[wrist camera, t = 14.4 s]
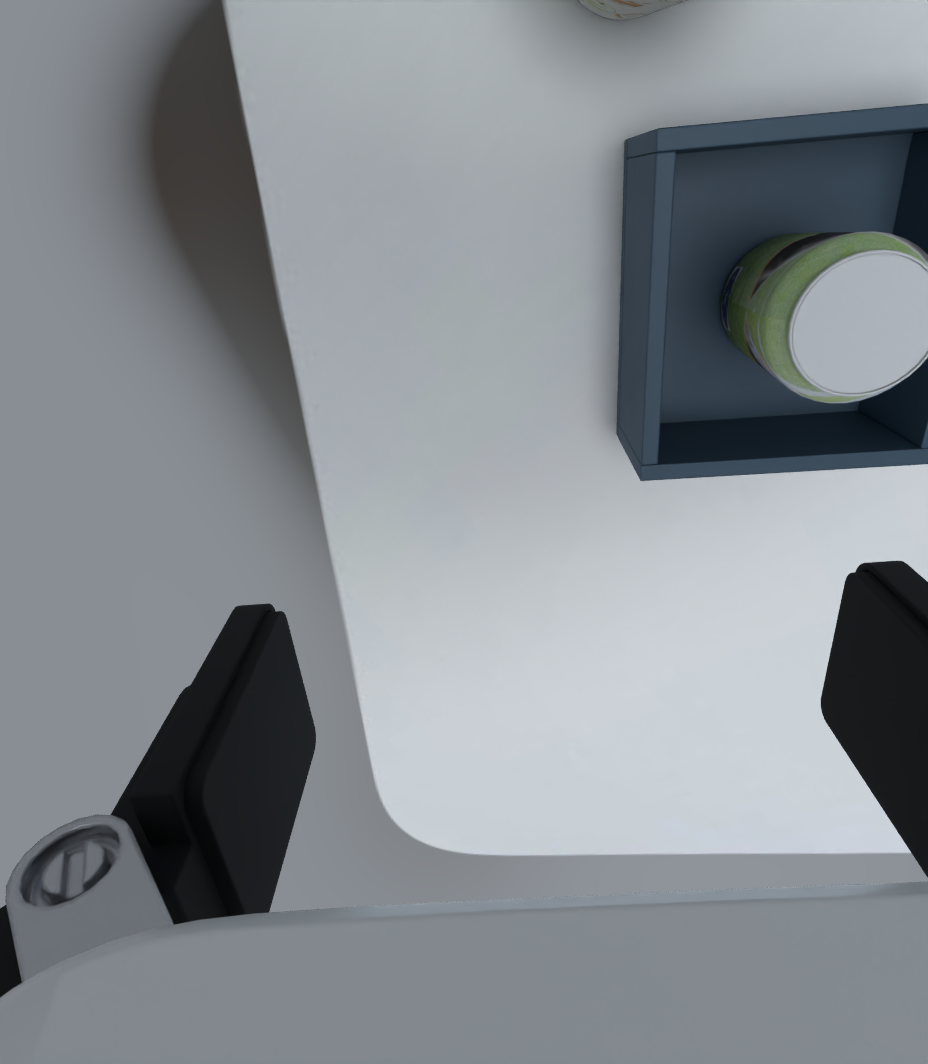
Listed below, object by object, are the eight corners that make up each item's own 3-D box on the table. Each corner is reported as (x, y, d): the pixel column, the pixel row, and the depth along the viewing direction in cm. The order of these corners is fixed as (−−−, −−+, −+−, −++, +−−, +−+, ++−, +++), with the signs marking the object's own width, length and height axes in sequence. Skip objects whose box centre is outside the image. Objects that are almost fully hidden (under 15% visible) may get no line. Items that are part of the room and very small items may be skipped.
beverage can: (805, 368, 35) (943, 446, 25) (673, 336, 35) (754, 403, 24) (863, 242, 32) (1047, 268, 22) (719, 206, 32) (836, 215, 21)
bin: (624, 139, 31) (656, 128, 25) (924, 112, 30) (1032, 93, 24) (616, 434, 38) (640, 481, 32) (862, 419, 37) (934, 464, 31)
